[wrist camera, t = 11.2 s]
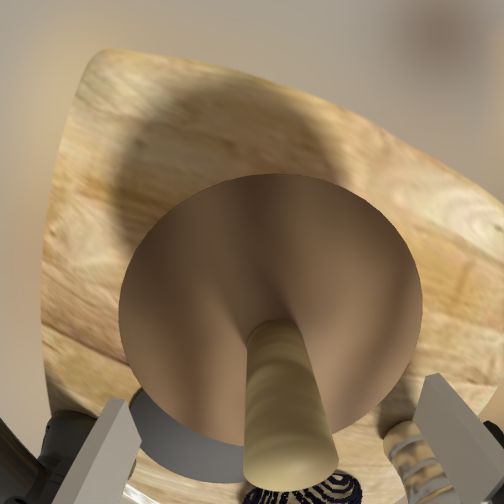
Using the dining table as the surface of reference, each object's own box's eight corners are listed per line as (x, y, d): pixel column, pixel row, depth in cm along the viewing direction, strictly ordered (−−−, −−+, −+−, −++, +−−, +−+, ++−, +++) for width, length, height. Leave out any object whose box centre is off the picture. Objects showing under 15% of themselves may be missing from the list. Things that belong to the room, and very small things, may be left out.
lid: (171, 444, 22) (144, 543, 12) (92, 208, 18) (-35, 239, 7) (403, 411, 22) (452, 500, 11) (409, 159, 17) (538, 150, 6)
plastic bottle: (390, 450, 34) (432, 550, 15) (370, 435, 33) (415, 550, 14) (425, 425, 33) (480, 521, 14) (409, 407, 32) (471, 516, 13)
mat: (153, 475, 36) (153, 477, 35) (109, 369, 31) (108, 371, 30) (294, 478, 35) (295, 480, 35) (299, 369, 30) (300, 371, 30)
